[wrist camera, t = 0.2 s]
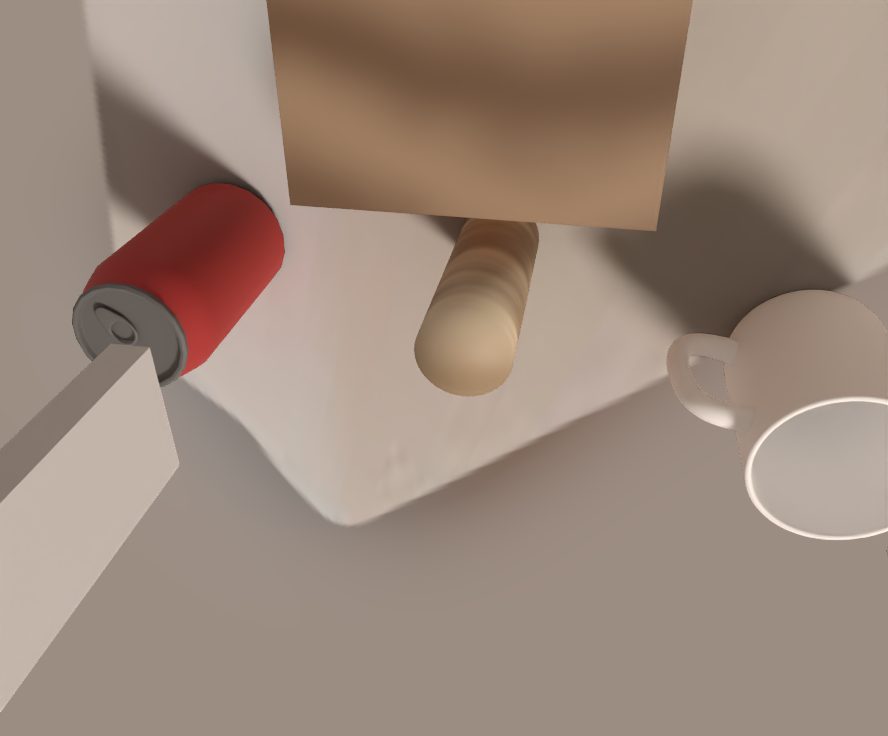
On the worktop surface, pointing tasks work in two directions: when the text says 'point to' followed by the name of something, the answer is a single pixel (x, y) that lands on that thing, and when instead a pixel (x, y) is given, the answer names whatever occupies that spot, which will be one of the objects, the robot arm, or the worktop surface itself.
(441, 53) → the cubby shelf
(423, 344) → the tethered cylinder
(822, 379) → the cup
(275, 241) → the beer can
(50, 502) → the robot arm
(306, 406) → the worktop surface
